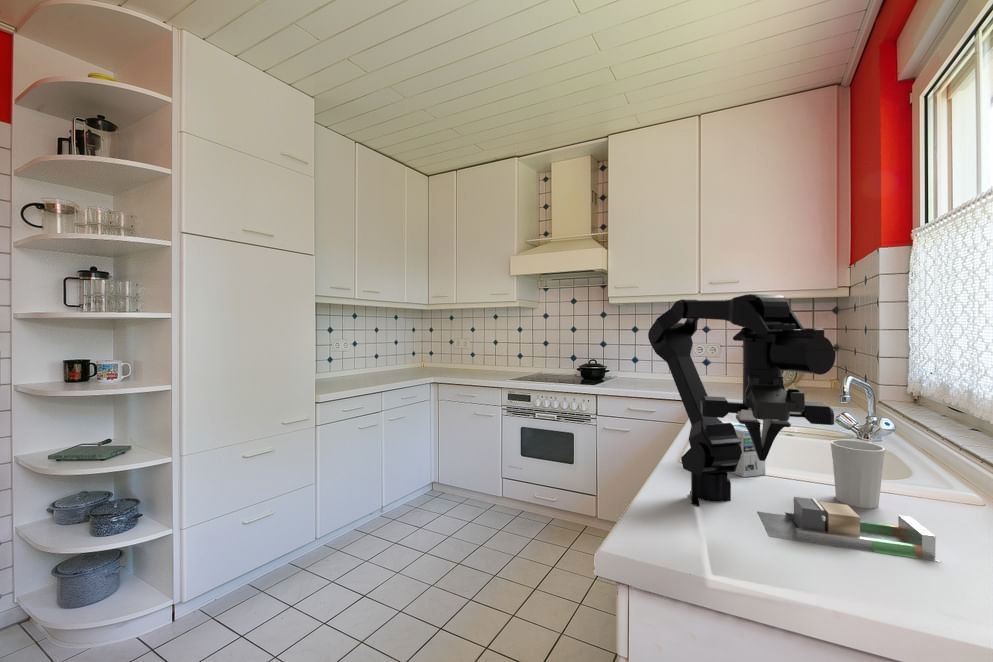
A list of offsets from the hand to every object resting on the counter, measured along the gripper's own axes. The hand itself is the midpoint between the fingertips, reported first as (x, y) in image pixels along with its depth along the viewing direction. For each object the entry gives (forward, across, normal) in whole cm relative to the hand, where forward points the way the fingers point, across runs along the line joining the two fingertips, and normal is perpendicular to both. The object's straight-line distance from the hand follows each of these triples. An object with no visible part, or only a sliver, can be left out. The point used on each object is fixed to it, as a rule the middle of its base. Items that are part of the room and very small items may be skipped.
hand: (761, 460), depth 74 cm
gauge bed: (+12, +11, 0) cm, 16 cm away
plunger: (+10, +7, 0) cm, 12 cm away
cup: (+12, +19, +17) cm, 28 cm away
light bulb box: (+12, +1, +34) cm, 36 cm away
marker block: (+11, +11, 0) cm, 15 cm away
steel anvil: (+11, +20, 0) cm, 23 cm away
